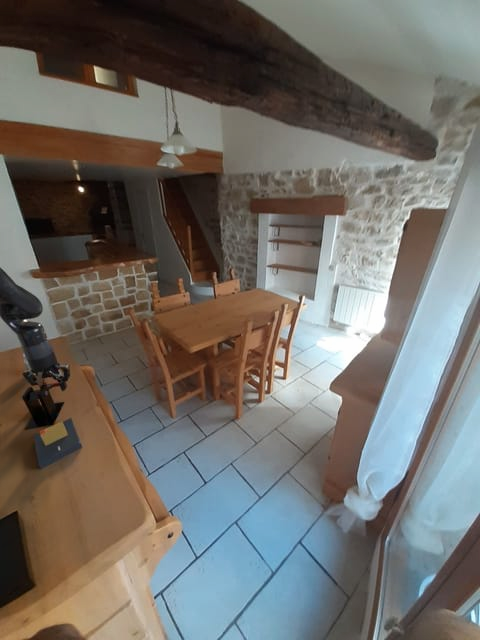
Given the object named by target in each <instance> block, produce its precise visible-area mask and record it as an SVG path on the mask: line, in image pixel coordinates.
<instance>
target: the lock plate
mask: <svg viewBox="0 0 480 640" xmlns="http://www.w3.org/2000/svg"><path fill="white" fill-rule="evenodd" d="M62 422H63V425H64V427H65V429H66V431H67V434H68V435H67V436H65V437H63V438H61V439H59V440H57V441H55V442H53V443H51V444H49V445H47V446H45V444H44V442H43V440H42V438H41V436H40V431H39V432H37V433H35V434H33V435H32V437H33V441H34V447H35V453H36V459H37V463H38V466H39V468H40V469H41V470H43V469H45V468H46V467H48V466H50V465H52V464H54V463H55V462H57V461H60V460H61V459H64V458H65V457H67V456H69V455H71V454H72V453H74V452H76V451H78V450H80V449H82V448H83V445H82V442H81V439H80V436H79V434H78V431H77V428H76V425H75V423H74V421H73V418H72V417H70V418H68V419H65V420H63V421H62Z"/></svg>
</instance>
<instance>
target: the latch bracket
mask: <svg viewBox="0 0 480 640" xmlns="http://www.w3.org/2000/svg"><path fill="white" fill-rule="evenodd" d="M34 390H35V389H34V388H33V386H28V387H27V388H26V390H25V391H24V393H23V394H22V396H21V399H22V400H23V402H24V404H25V405H26V408H27V409H28V412H29V414H30V416H31V418H30V420H29V421H28V422H27V425H26V426H25V427H24V430H25V431H27V430H32V429H37V428H43V427H50V426H53V425H55V424H56V422H57V419H58V417H59V415H60V413H61V411H62V408H63V407H64V405H65V401H60V402H55V400H54V399H53V397H52V395H51V393H50V389H49V390H48V388H47V385H43V386H42V387H41V389H40V388H39V389H38V390H39V392H38V394H37V396H38V398H39V399H37V400H30V394H29V393H31V392H32V391H34Z"/></svg>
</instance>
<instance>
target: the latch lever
mask: <svg viewBox="0 0 480 640" xmlns="http://www.w3.org/2000/svg"><path fill="white" fill-rule="evenodd" d="M45 385H47V388H48V390H49V391H50V390H51V389H53V388H57V387H60V385H59V382H58V381H57V382H51V383H46V384H45ZM33 390H34V391H32V392H31V393H29V394H30V400H37V399H38V400H39V398H38V396H37V394H38V392H39V390H40V389H33Z"/></svg>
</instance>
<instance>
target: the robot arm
mask: <svg viewBox="0 0 480 640" xmlns="http://www.w3.org/2000/svg"><path fill="white" fill-rule="evenodd" d="M43 310H44V307H43V304H42V302H41V300H40V299H39V298H38V297H37V295H35V294H33V293H32V292H30V290H29V291H28V290H27V289H26V288H24V287H22V286H20V285H19V284H17V283H16V282H15V280H13V279H12V277H10V276H9V274H8V273H7V272H6V271H5V270H4V269H3V268H2V267H0V318H1V320H2V321H3V322H4V323H5V324H6V326H7V327H9V329H11V331H12V332H13V333H14V334H15V335H16V338H17V340H18V341H19V343H20V345H21V349H22V353H23V354H24V355H25V357H26V359H27V361H28V364H29V366H30V368H31V369H30V370H29V369H26V368H25V370H24V371H23V373H22V377H24V379H25V380H26V381H27V382H28V383H29V384H30V386H31V387H35V386H37V387H39V390H40V389H41V387H42V386H43V385H45V384H47V382H46V381H45V380H46V379H48V378H51V379H53V380H54V381H56V382H57V383H58V382H59V385H60V386H59V388H60V390H61V392H65V390H67V387H68V384H67V382H68V381H69V379H70V377H71V367H70V363H65V364H64V365H63V364H60V363H59V362H58V359H57V356H56V353H55V351H54V348H53V345H52V343H51V341H50V340H49V338H48V336H47V333H46V330H45V328H44V326H43V324H42V323H40V322H37V321H31V320H32V319H36V318H38V317H40V316H41V315H42V313H43ZM33 373H34V374H36V375H34V374H33ZM62 373H63V374H62Z"/></svg>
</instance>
